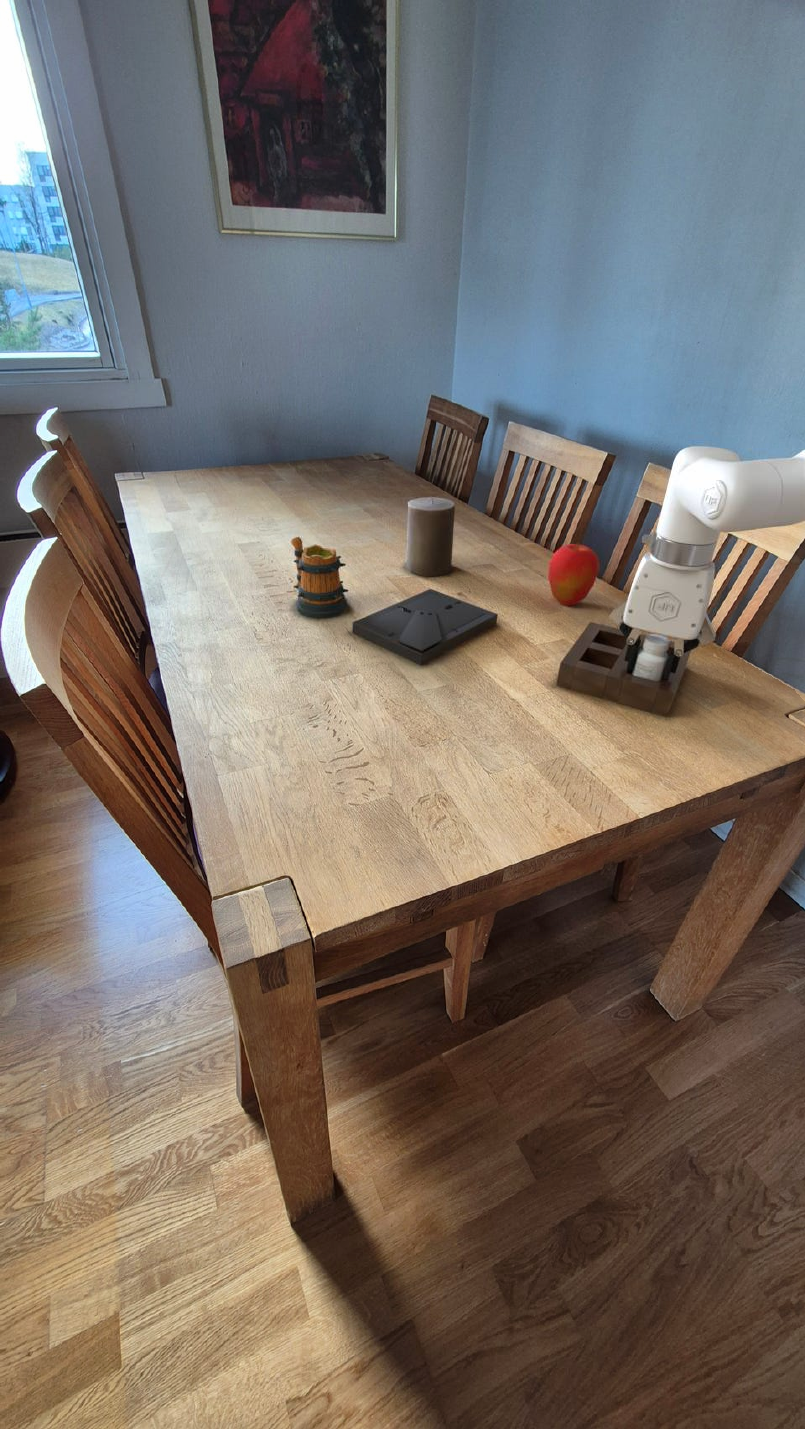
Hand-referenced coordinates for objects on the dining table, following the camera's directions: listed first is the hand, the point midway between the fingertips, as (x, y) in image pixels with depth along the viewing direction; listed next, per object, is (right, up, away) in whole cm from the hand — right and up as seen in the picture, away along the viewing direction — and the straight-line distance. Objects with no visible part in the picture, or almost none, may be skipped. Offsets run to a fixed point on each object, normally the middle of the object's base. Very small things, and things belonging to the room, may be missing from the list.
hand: (648, 669), depth 92 cm
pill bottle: (0, -2, +2) cm, 3 cm away
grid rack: (-2, -1, +7) cm, 7 cm away
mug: (-52, +14, +26) cm, 60 cm away
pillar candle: (-31, +25, +43) cm, 58 cm away
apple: (-4, +15, +30) cm, 34 cm away
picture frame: (-32, +8, +19) cm, 38 cm away
